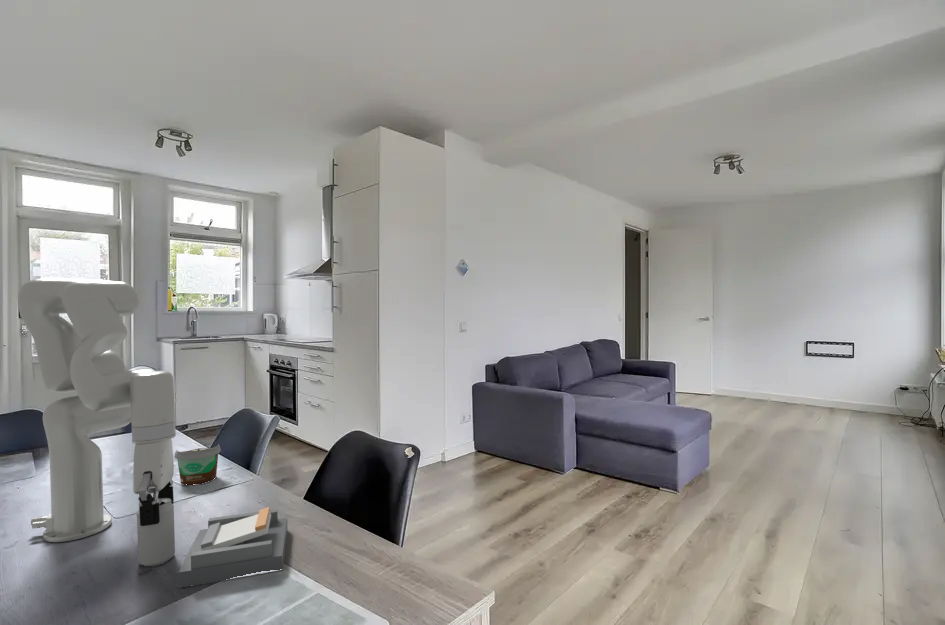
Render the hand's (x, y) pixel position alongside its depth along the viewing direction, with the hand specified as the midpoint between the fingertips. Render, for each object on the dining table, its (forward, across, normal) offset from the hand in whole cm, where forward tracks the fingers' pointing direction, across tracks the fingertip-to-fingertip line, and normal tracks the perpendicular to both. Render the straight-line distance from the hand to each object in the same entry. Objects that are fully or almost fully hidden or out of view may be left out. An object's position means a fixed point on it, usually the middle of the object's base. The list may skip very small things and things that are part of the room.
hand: (157, 514), depth 100 cm
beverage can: (+10, -1, -1) cm, 10 cm away
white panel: (+5, +3, +15) cm, 16 cm away
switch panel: (+10, +3, +15) cm, 19 cm away
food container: (+9, -48, -3) cm, 49 cm away
